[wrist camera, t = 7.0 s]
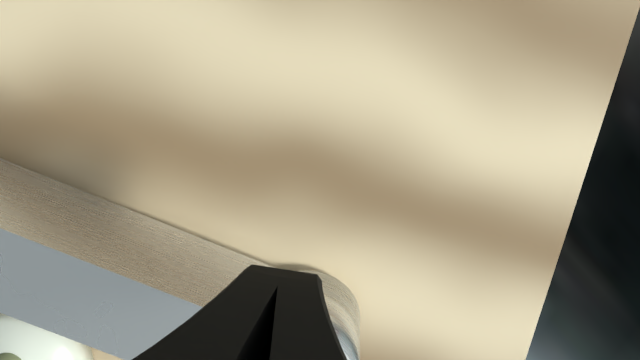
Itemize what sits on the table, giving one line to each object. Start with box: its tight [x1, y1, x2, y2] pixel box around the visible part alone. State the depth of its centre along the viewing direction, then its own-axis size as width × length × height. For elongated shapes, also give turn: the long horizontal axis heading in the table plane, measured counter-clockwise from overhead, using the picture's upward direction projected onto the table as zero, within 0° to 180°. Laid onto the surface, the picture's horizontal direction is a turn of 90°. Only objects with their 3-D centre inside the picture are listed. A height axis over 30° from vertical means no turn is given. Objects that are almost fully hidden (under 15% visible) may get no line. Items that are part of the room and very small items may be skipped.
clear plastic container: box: [0, 158, 360, 360], centre depth 15 cm, size 13×3×4 cm, turn 68°
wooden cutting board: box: [0, 0, 640, 360], centre depth 16 cm, size 20×20×4 cm
